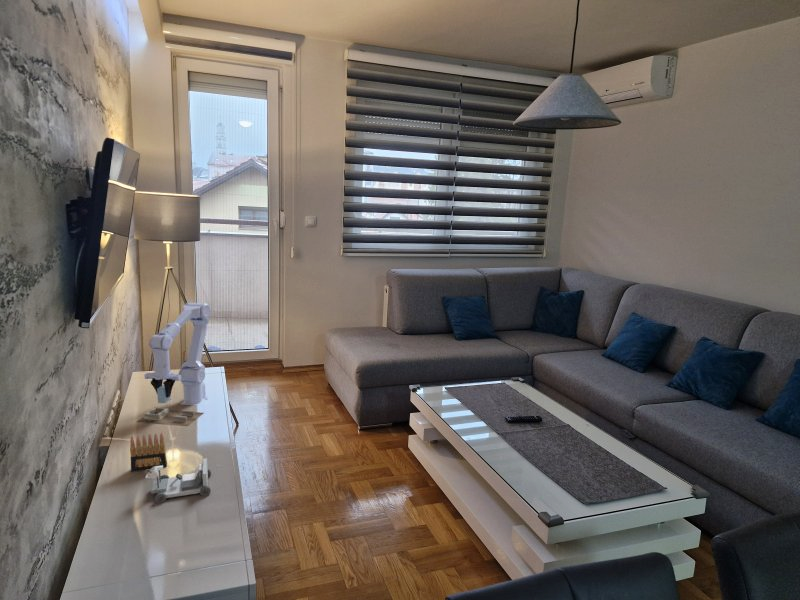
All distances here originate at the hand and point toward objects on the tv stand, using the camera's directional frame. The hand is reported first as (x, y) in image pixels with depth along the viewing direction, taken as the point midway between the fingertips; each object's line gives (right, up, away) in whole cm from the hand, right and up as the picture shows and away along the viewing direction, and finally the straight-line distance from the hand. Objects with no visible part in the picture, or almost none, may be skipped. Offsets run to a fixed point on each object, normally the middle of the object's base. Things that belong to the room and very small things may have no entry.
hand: (164, 396), depth 208 cm
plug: (0, -2, 0) cm, 2 cm away
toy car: (+27, -20, -49) cm, 59 cm away
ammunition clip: (+12, -17, -37) cm, 42 cm away
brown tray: (+2, -9, +2) cm, 10 cm away
